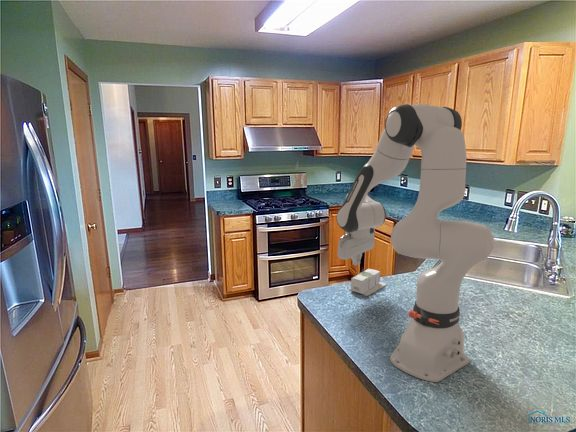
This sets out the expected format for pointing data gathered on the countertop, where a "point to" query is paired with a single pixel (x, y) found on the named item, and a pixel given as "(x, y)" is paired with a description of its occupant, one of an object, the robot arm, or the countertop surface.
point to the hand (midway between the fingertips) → (356, 264)
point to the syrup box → (365, 281)
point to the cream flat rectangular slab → (374, 288)
